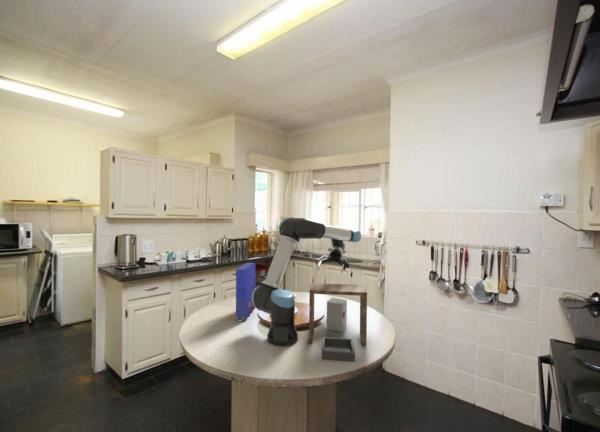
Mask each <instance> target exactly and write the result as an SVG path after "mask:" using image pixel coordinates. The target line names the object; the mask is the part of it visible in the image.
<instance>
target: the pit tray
mask: <svg viewBox="0 0 600 432" xmlns="http://www.w3.org/2000/svg"><path fill="white" fill-rule="evenodd" d="M321 345H322V346H321V360H325V361H326V360H327V361H339V362H341V361H342V362H356V351H355V346H354V340H353V338H345V337H330V336H329V337H326V336H323V337H322V344H321Z"/></svg>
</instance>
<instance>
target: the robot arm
mask: <svg viewBox="0 0 600 432" xmlns="http://www.w3.org/2000/svg"><path fill="white" fill-rule="evenodd" d="M278 233H279V239H280V241H279V242H278V246H277V248H276V250H275V253H274V256H273V258H272V261H271V263H270V265H269V268H268V272H267V274H266V277H265V278H264V280H263V281H261V282H260V284H259V285H258V286H257V287H255V289H254V291H253V292H252V295H251V301H252V304H253V306H254V307H255V309H256V310H258V311H260V312H263V313H265V314H269V315H270V326H269V329H268V331H267V335H266V337H267V338H266V341H267V343H268V344H270V343H271V344H270V345H272V346H276V345H277V346H276V347H285V346H286V347H288V346H292V345H294V344H295V343H297V342H298V340H299V339H298V336H299V335H298V331H297V328H296V323H295V311H296V310H295V309H296V307H295V305H296V304H295V303H296V300H295V295H294V293H293V292H291V291H290V290H287V289H282V288H281V283H282V282H283V281H282V280H283V279H284V275H285V272H286V271H287V268H288V267H287V266H288V264H289V262H290V259H291V257H292V253H293V251H294V248H295V247H296V245H298V244H299V242H300V240H306V239H307V240H309V239H310V240H311V239H314V240H315V239H317V240H320V239H330V240H331V245H332V247H331V248H332V249H331V251H330V253H329V255H327V254H323V255H322V256H320V257H318V258H317V259H316V260H315V261H316V262H315V263H316V264H317V271H320V269H321V267H322V265H323V264H326V263H337V264H338V265H340V266H341V268H340V274H341V275H342V274H343V272H344V271H345V270H346V269H350V263H349V262H348V260H347V258H346V257H345V256H344V257H343V254H344V251H345V248H346V244H345V242H349V243H359V242H360V241H361V239H362V233H361V231H360V230H356V229H347V228H343V227H341V226H340V225H328V224H324V222H321V221H319V220H314V219H311V218H308V217H307V218H306V217H293V216H292V217H287V218H284V219H282V220H281V221H280V222H279V225H278Z"/></svg>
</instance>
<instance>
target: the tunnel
mask: <svg viewBox="0 0 600 432" xmlns="http://www.w3.org/2000/svg"><path fill="white" fill-rule="evenodd" d="M315 295H336V296H337V295H338V296H360V297H359V298H360V299H359V300H360V302H359V336H360V340H361V343H362V347H367V336H368V335H367V331H368V330H367V328H368V325H367V324H368V321H367V319H368V291H367V289H366V288H365V285H364V284H349V283H348V284H345V283H344V284H342V283H320V282H319V283H316V282H312V283H311V284H310V287H309V300H308V301H309V303H308V304H309V305H308V308H309V310H308V315H309V316H308V319H309V321H308V344H313V340H314V335H315V334H314V333H315Z"/></svg>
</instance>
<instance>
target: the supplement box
mask: <svg viewBox="0 0 600 432" xmlns="http://www.w3.org/2000/svg"><path fill="white" fill-rule="evenodd" d="M347 308H348V299H346V298H339V297H331V298H330V299H329V300H327V301H326V330H333V331H337V332H341V333H342V332H343V331H344V330H345V328H347V322H348V319H347V316H348V315H347V314H348V313H347V312H348V309H347Z"/></svg>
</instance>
